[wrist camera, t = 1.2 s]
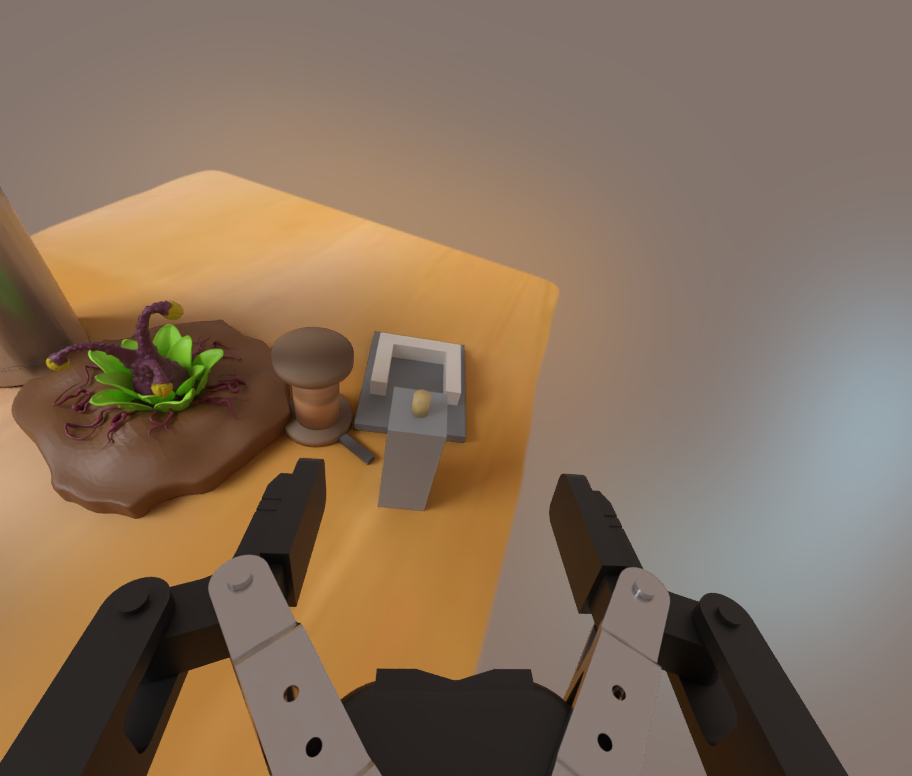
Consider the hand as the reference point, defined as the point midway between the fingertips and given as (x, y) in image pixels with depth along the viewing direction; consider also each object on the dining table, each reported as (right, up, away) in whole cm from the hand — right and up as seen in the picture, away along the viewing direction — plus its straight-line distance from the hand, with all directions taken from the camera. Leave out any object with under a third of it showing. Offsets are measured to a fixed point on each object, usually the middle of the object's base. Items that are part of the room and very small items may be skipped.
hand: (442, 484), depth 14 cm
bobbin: (-12, -1, +25) cm, 28 cm away
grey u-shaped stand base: (-4, +4, +32) cm, 32 cm away
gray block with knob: (-4, -6, +23) cm, 24 cm away
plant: (-26, +1, +24) cm, 35 cm away
